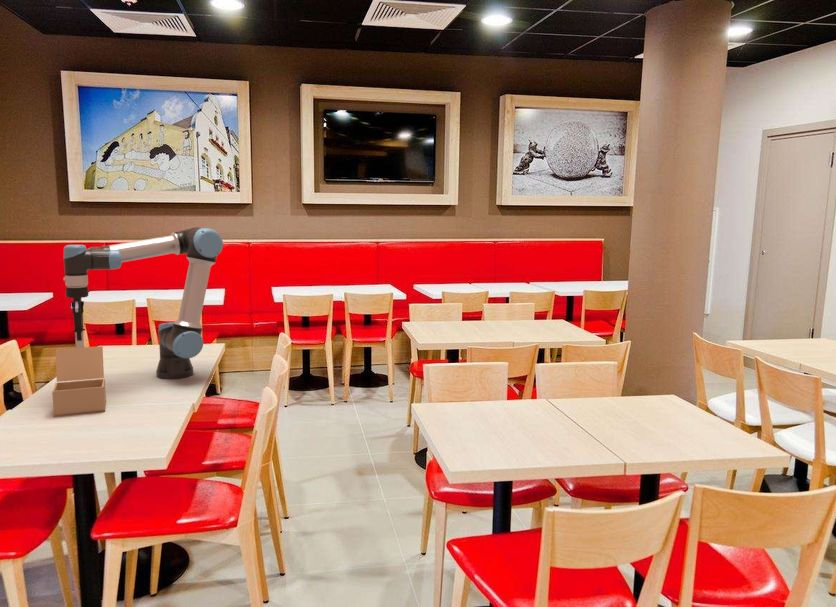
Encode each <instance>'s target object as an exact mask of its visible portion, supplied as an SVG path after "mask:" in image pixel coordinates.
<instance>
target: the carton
mask: <svg viewBox="0 0 836 607" xmlns="http://www.w3.org/2000/svg"><path fill="white" fill-rule="evenodd" d="M106 392H107V391H106V378H97V379H85V380H73V381H61V382H56V383H55V384H54V387H53V388H52V391H51V393H52V395H51V396H52V407H53V417H54V418H55V417H64V416H75V415H81V414H82V415H83V414H84V415H85V414H93V413H94V414H95V413H102V412H103V413H104V412H106V409H107V406H106V405H107V393H106Z"/></svg>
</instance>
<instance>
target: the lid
mask: <svg viewBox="0 0 836 607" xmlns="http://www.w3.org/2000/svg"><path fill="white" fill-rule="evenodd" d="M55 365H56V366H55V369H56V372H55V374H56V383H60V382H72V381H84V380H96V379H105V372H104V347H103V345H100V346H88V347H87V346H84V347H83V348H76V347H72V348H71V347H70V348H57V349H55Z"/></svg>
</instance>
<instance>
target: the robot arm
mask: <svg viewBox="0 0 836 607" xmlns="http://www.w3.org/2000/svg"><path fill="white" fill-rule="evenodd" d="M223 248H224V242H223V238H222V236H221V234H219V233H218V231H217V230H214V229H213V228H209V227H197V226H196V227H191V228H187V229H184V230H179V231H178V230H177V231H172V232H171V234H170V235H165V236H158V237H152V238H147V239H139V240H134V241H129V242H128V241H127V242H123V243H116V244H110V245H104V246H103V245H102V246H92V247H89V248H87V247H86V245H84V244H67V245H65V246H64V247H63V268H64V277H63V281H64V283H65V286H66V287H65V297H66V298H67V299H68V298H69V299H73V300H72V301H71V304H70V305H71V308H72V315H73V325H74V330H72V332H73V333H74V337H75V338H74V340H75V348H83V347H85V336H84V331H86V328H85V327H84V314H83V313H84V306H85V301H82V298H87V297H89V287H88V285H89V277H88V271H94V270H95V271H96V270H97V271H98V270H99V271H100V270H101V271H103V270H104V271H105V270H112V271H113V270H118V269H120V268H121V266H122V263H126V262H131V261H132V262H133V261H137V260H143V259H148V258H154V257H160V256H165V255H170V254H174V255H177V256H179V255H180V256H181V255H186V259H187V260H188V262H189V265H188V268H187V273H186V277H185V278H186V279H185V284H184V289H183V293H182V298H181V301H180V302H181V304H180V308H179V314H178V318H177V320H175V321H171V322H165V323H164V322H163V323H159V325H158V330H157V332H158V345H159V346H158V347H159V361H158V364H157V367H156V372H155V373H156V374H155V375H156V378H159V379H164V380H165V379H166V380H167V379H168V380H172V379H173V380H175V379H183V378H188V377H190V376H192V375H194V372H195V371H194V366H193V364H192V362H191V358H192V359H193V358H194V357H196V356H198V355H199V354H200V353H201V351H202V350H203V347H204V339H203V337H202V333H203V326H202V325H201V318H202V312H203V308H204V303H205V302H204V301H205V297H206V292H207V288H208V283H209V277H210V272H211V268H212V266H213V265H215V264H216V263H217V262H216V261H217V258H218V255H220V254H221V252H222V250H223Z"/></svg>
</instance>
